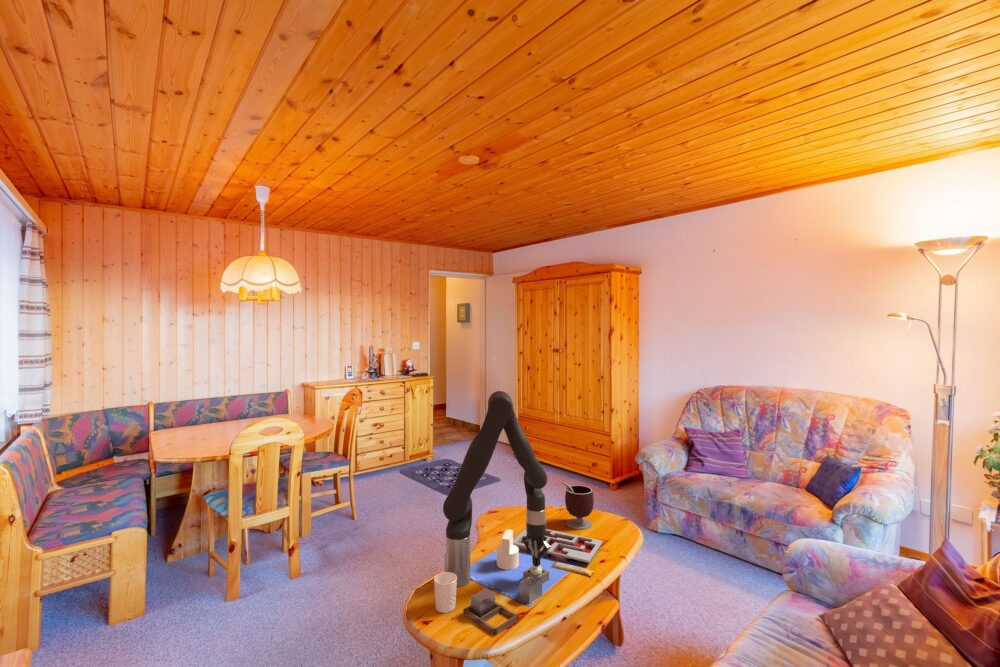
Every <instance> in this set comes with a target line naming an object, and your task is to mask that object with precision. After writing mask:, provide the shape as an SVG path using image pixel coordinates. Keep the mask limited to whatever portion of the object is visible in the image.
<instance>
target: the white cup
mask: <svg viewBox="0 0 1000 667" xmlns="http://www.w3.org/2000/svg"><path fill="white" fill-rule="evenodd" d="M433 588H434V601H435V609H436V611H437V612H439V613H443V614H447V613H450V612H452V611H454V610H455V608H456V604H457V603H456V601H457V589H458V586H457V576H456V575H455V574H454V573H451V572H445V571H443V572H440V573H437V574H436V575H434V577H433Z"/></svg>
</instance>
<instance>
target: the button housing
mask: <svg viewBox="0 0 1000 667" xmlns="http://www.w3.org/2000/svg"><path fill="white" fill-rule="evenodd" d="M530 575H532V574H531V573H530V568H528V569H526V570H523V572H522V576H523V577H522V578H523V579H525V578H527V577H529V576H530ZM537 577H539V578H541V579H542V585H543V584H545V583H546V582H548V581H549V580H550V571H549V570H547V569H544V567H542V574H541V575H539V576H537ZM523 579H522V580H523Z"/></svg>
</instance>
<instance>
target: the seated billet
mask: <svg viewBox="0 0 1000 667" xmlns="http://www.w3.org/2000/svg"><path fill="white" fill-rule="evenodd" d="M495 602H496V593H495V592H494V591H492V590H490V589H489V588H487V587H485V588H483V589H482V590H480V591H478V592H476V593H475V594H473V595H470V605H471V612H472V613H473V614H475V615H476V616H478V617H479V618H480V617H482V616H484V615H485V614H487V613H489V612H490V611H492V610H493V609H495Z"/></svg>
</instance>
